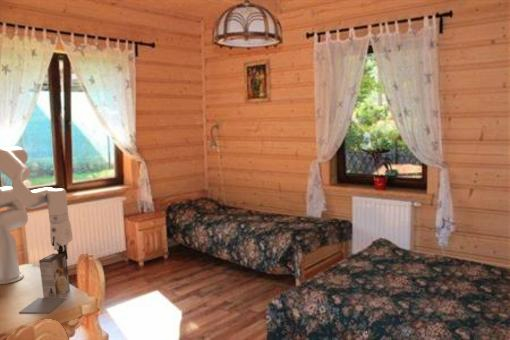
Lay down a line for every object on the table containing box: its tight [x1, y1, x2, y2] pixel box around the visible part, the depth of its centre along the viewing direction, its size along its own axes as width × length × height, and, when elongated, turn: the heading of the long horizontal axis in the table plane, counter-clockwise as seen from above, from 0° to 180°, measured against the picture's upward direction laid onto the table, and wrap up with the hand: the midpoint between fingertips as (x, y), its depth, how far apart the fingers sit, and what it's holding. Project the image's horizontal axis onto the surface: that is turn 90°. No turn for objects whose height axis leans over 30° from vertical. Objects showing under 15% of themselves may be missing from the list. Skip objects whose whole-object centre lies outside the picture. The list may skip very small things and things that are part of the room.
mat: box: [18, 297, 68, 315], centre depth 176 cm, size 12×13×1 cm
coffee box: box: [38, 253, 71, 298], centre depth 186 cm, size 9×6×16 cm
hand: (63, 259), depth 193 cm, fingers closed
